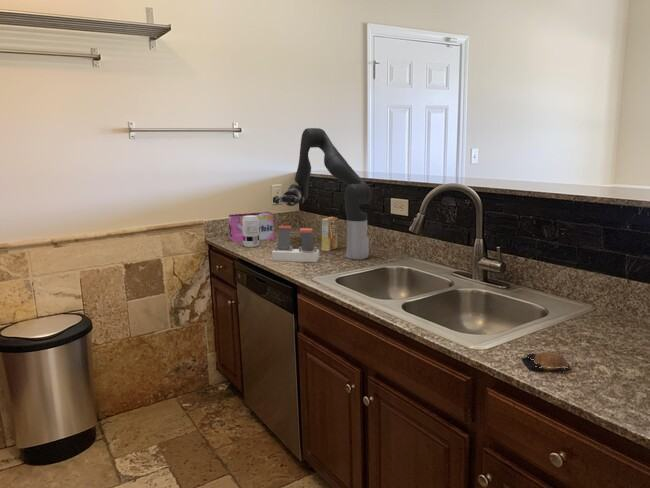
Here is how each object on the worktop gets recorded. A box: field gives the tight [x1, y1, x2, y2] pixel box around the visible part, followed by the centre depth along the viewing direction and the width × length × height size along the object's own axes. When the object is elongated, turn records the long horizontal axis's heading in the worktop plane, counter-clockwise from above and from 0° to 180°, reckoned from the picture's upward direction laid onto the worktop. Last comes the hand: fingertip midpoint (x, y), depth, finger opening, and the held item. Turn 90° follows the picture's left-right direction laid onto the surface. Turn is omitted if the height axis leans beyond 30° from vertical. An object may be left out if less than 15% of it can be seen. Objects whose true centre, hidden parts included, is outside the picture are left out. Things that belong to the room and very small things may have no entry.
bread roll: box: [521, 352, 576, 374], centre depth 118 cm, size 11×8×4 cm
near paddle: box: [299, 227, 315, 251], centre depth 217 cm, size 5×2×11 cm, turn 82°
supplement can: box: [242, 215, 260, 248], centre depth 248 cm, size 8×8×15 cm
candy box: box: [321, 216, 339, 252], centre depth 240 cm, size 9×4×15 cm, turn 150°
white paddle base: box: [271, 245, 320, 263], centre depth 221 cm, size 20×7×6 cm, turn 82°
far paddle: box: [277, 225, 292, 250], centre depth 222 cm, size 5×2×11 cm, turn 82°
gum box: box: [227, 211, 275, 243], centre depth 265 cm, size 24×8×14 cm, turn 116°
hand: (285, 202), depth 227 cm, fingers open, 8 cm apart
